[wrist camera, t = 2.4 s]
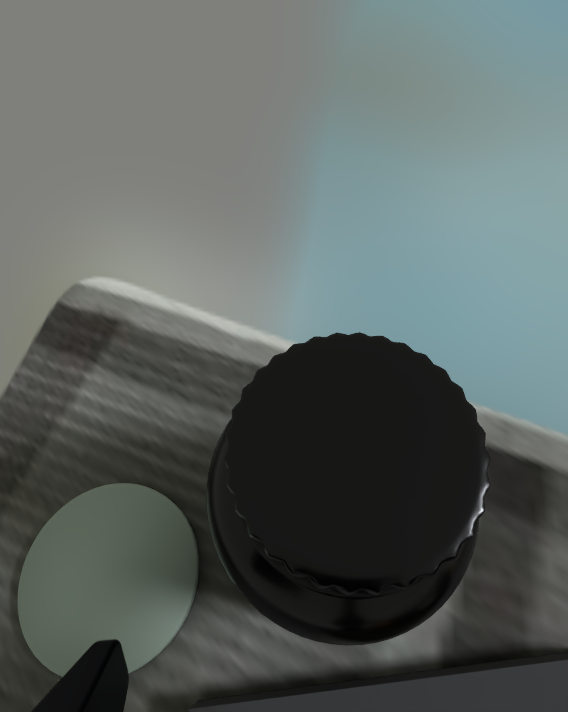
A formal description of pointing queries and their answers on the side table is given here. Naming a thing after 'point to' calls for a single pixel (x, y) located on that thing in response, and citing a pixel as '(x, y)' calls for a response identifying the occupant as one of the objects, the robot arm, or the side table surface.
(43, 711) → the robot arm
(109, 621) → the pad
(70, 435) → the side table surface
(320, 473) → the supplement bottle
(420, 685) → the dark grey slat
